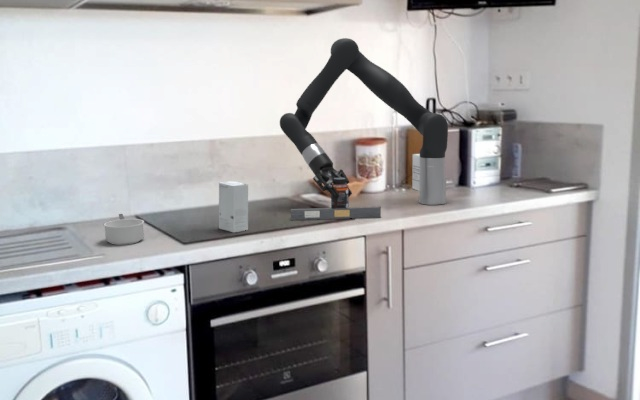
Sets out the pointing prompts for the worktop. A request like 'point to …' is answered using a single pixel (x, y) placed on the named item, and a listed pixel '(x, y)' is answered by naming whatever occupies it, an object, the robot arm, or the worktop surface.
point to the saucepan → (124, 231)
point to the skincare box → (233, 206)
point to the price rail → (335, 213)
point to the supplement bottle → (342, 191)
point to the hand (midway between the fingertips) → (343, 196)
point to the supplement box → (415, 171)
